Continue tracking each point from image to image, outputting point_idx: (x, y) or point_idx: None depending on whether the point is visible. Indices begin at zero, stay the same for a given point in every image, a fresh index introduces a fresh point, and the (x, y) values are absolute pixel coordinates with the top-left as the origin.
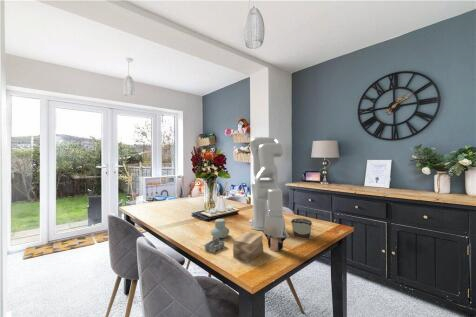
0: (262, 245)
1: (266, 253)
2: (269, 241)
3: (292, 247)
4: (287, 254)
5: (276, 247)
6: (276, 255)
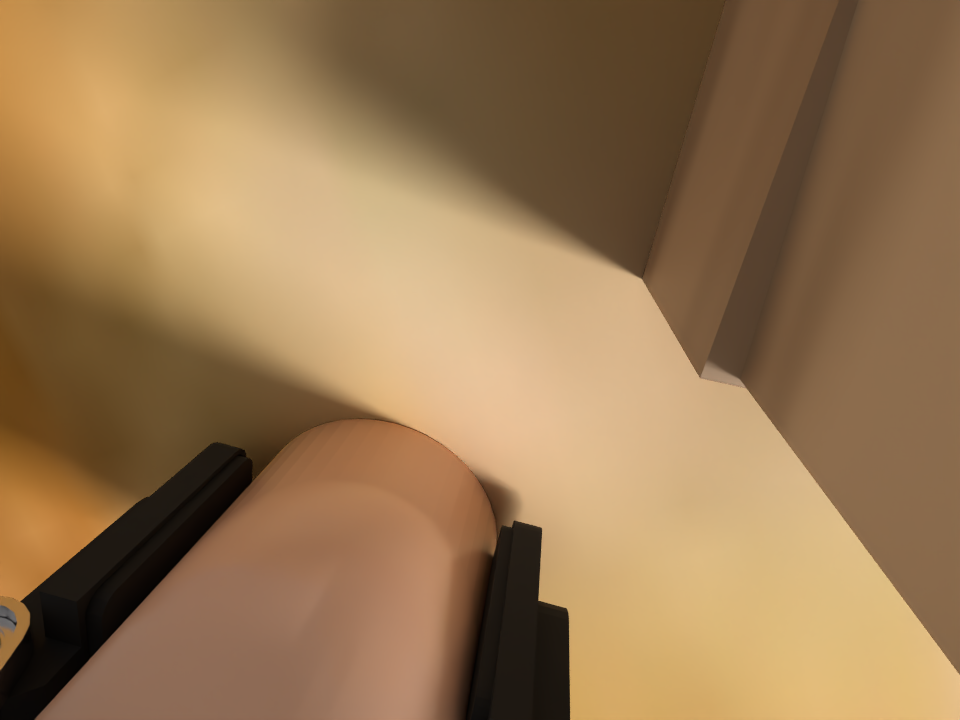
0: (704, 293)
1: (513, 203)
2: (488, 678)
3: None
4: (28, 348)
5: (260, 484)
6: (214, 187)
